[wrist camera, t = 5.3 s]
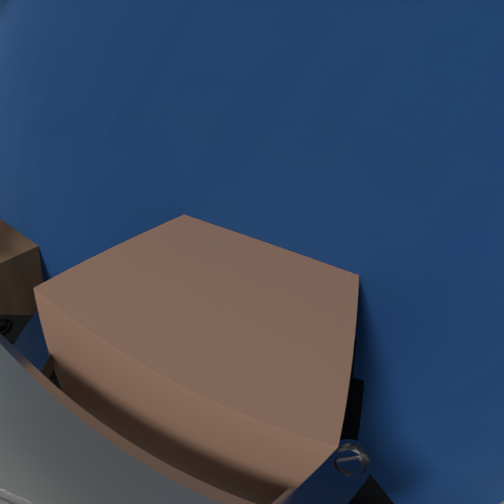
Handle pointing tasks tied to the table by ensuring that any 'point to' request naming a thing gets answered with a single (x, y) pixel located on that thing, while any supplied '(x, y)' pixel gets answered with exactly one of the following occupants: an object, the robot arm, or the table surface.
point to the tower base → (18, 272)
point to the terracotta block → (208, 352)
